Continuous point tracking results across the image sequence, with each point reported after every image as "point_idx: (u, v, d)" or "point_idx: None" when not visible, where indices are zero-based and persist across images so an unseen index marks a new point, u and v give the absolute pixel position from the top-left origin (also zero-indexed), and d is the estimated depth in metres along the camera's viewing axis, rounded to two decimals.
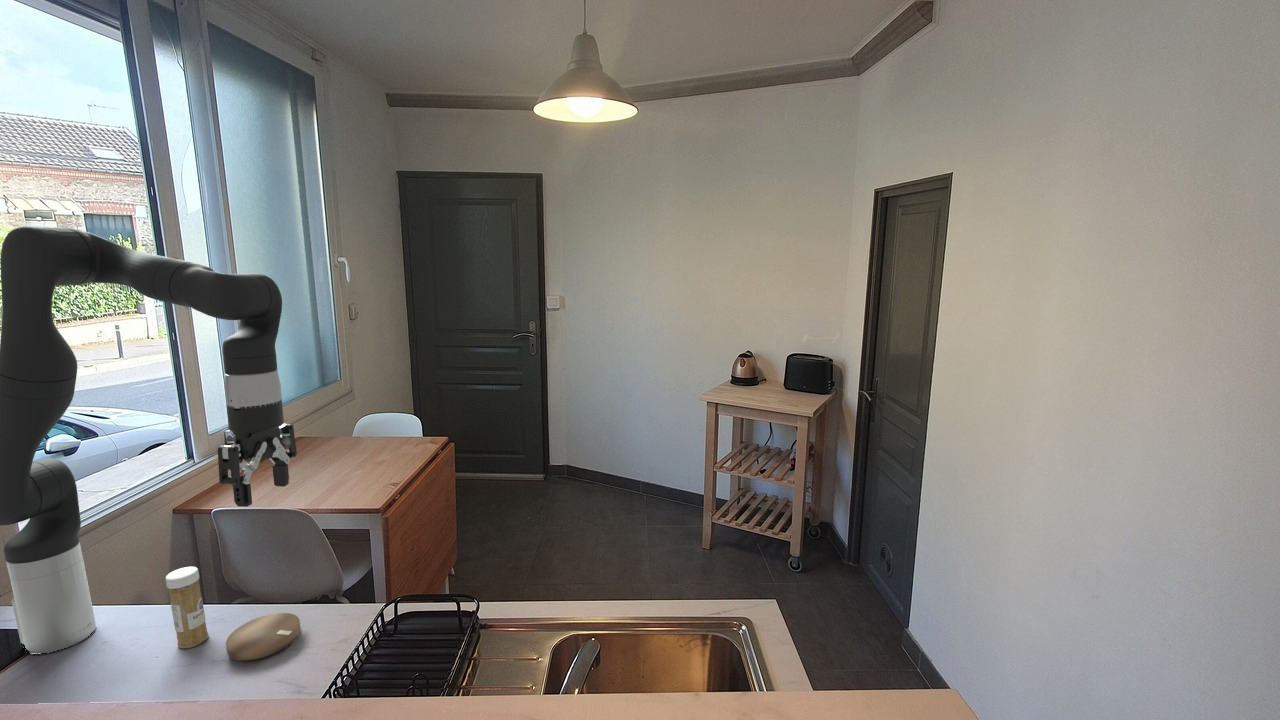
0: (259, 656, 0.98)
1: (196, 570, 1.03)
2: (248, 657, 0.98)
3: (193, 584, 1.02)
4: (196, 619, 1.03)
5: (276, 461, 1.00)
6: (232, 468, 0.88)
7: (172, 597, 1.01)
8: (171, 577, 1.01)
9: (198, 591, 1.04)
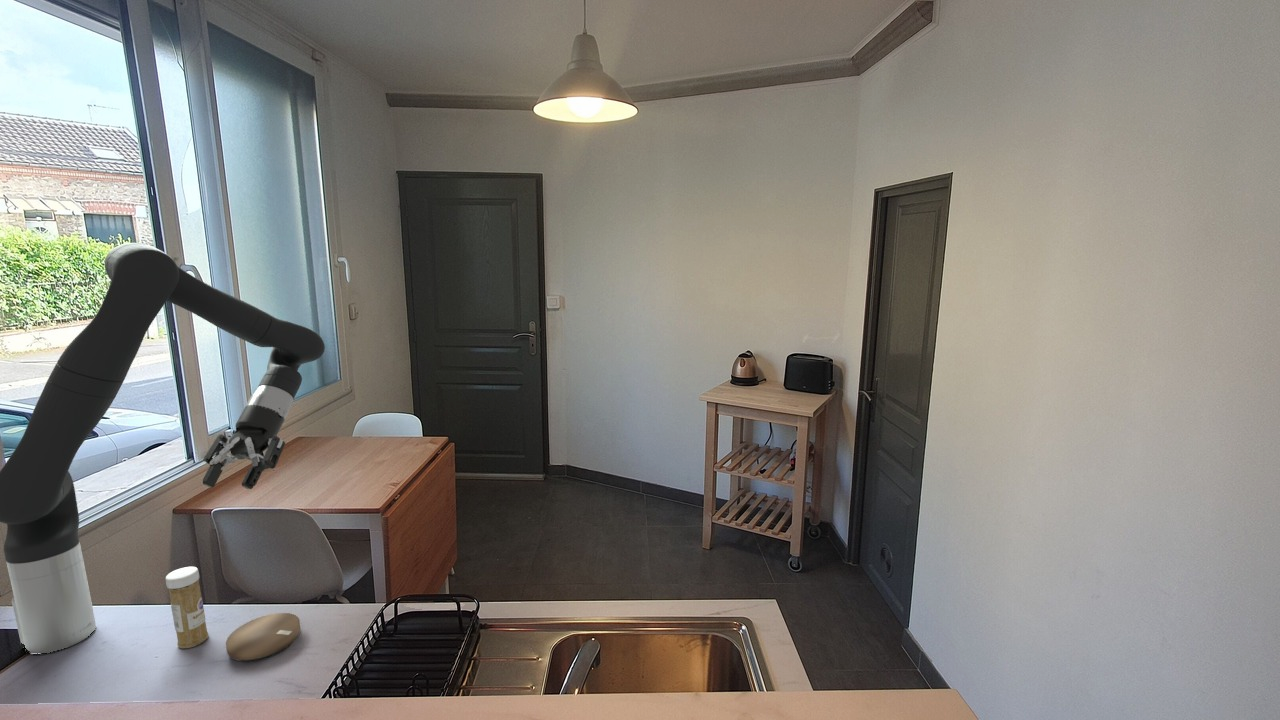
0: (259, 656, 0.98)
1: (196, 570, 1.03)
2: (248, 657, 0.98)
3: (193, 584, 1.02)
4: (196, 619, 1.03)
5: (218, 463, 1.14)
6: (279, 456, 1.15)
7: (172, 597, 1.01)
8: (171, 577, 1.01)
9: (198, 591, 1.04)
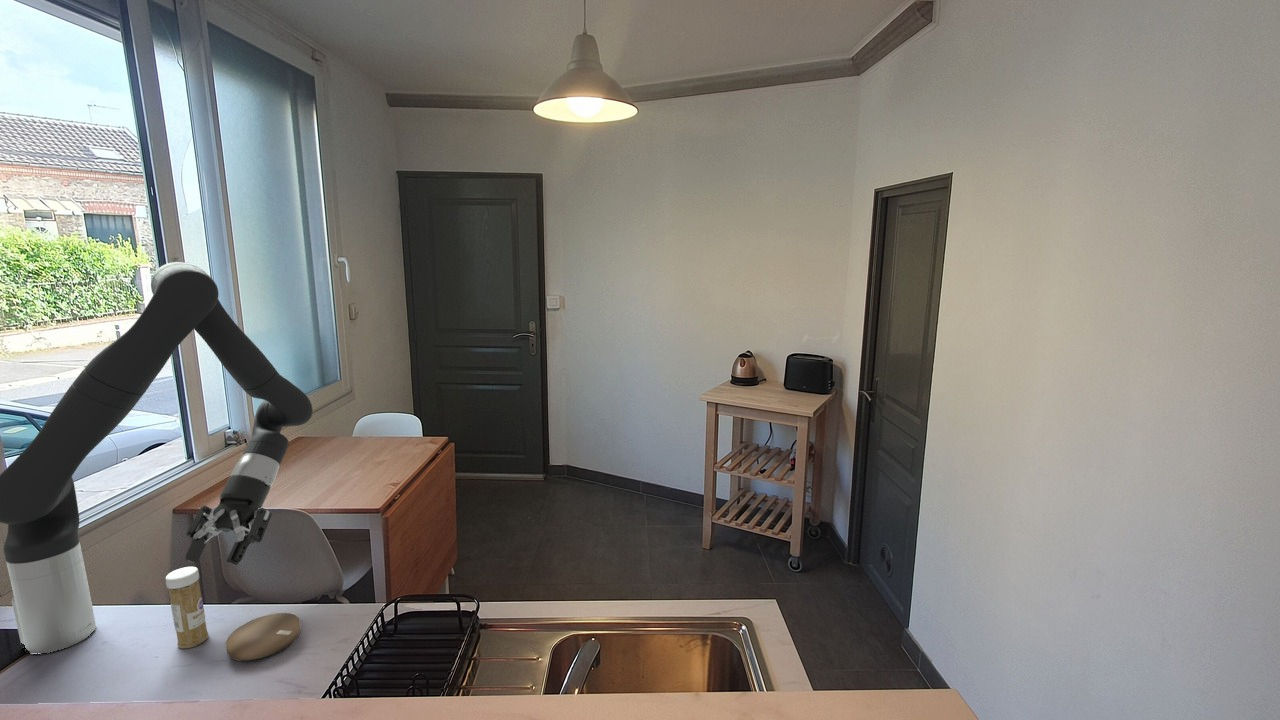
0: (259, 656, 0.98)
1: (196, 570, 1.03)
2: (248, 657, 0.98)
3: (193, 584, 1.02)
4: (196, 619, 1.03)
5: (201, 537, 1.11)
6: (265, 528, 1.12)
7: (172, 597, 1.01)
8: (171, 577, 1.01)
9: (198, 591, 1.04)
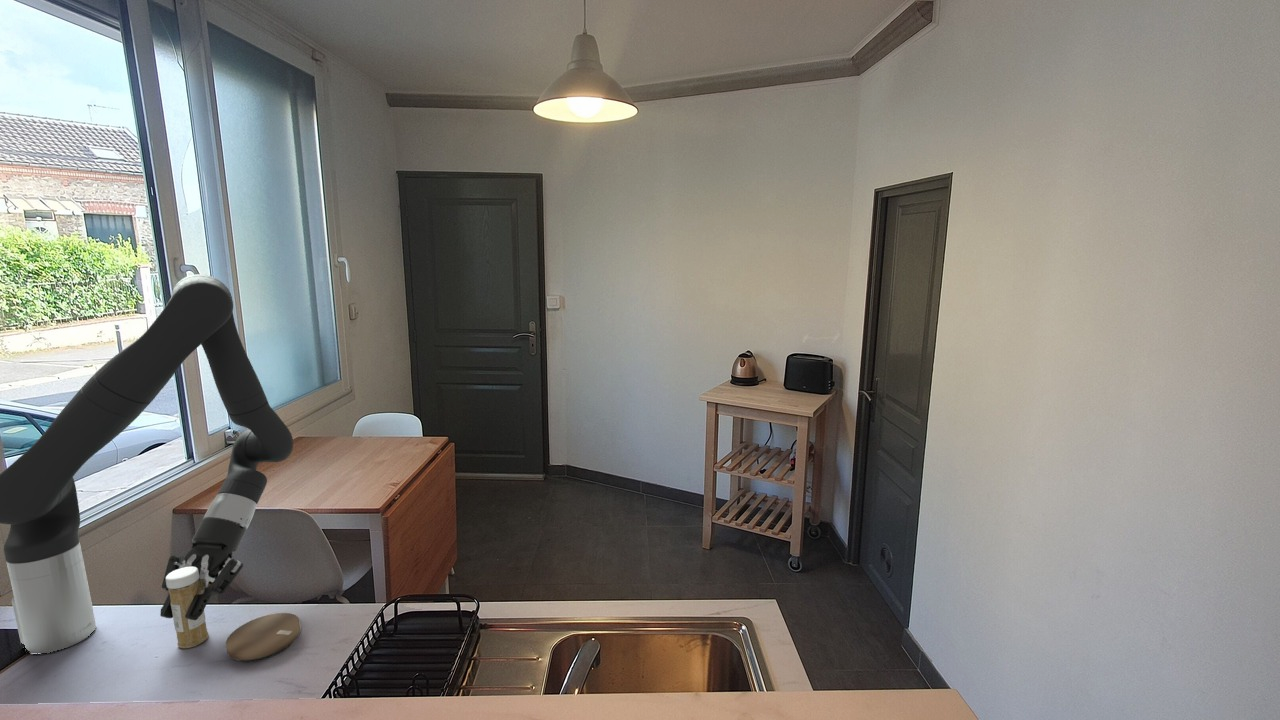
0: (259, 656, 0.98)
1: (196, 570, 1.03)
2: (248, 657, 0.98)
3: (193, 584, 1.02)
4: None
5: None
6: (231, 581, 1.06)
7: (172, 597, 1.01)
8: (171, 577, 1.01)
9: None
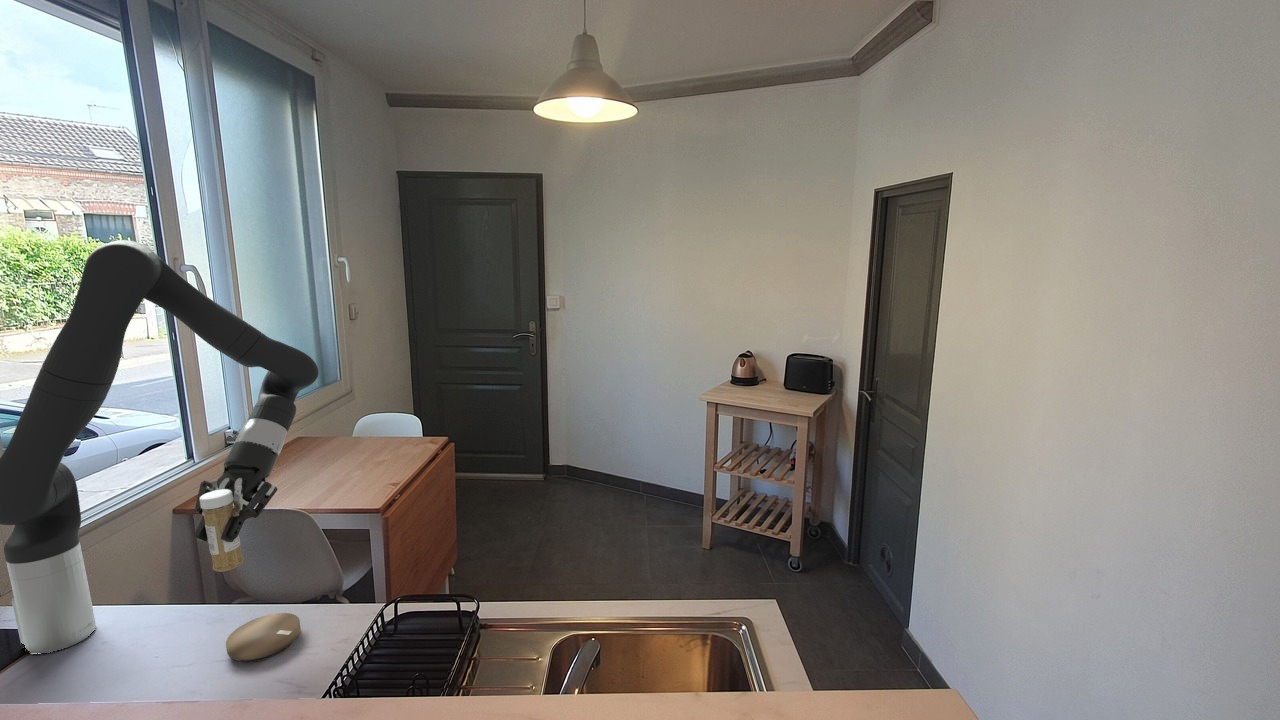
0: (259, 656, 0.98)
1: (230, 492, 1.00)
2: (248, 657, 0.98)
3: (228, 505, 1.00)
4: (232, 542, 1.00)
5: None
6: (265, 504, 1.03)
7: (207, 518, 0.98)
8: (205, 497, 0.98)
9: None
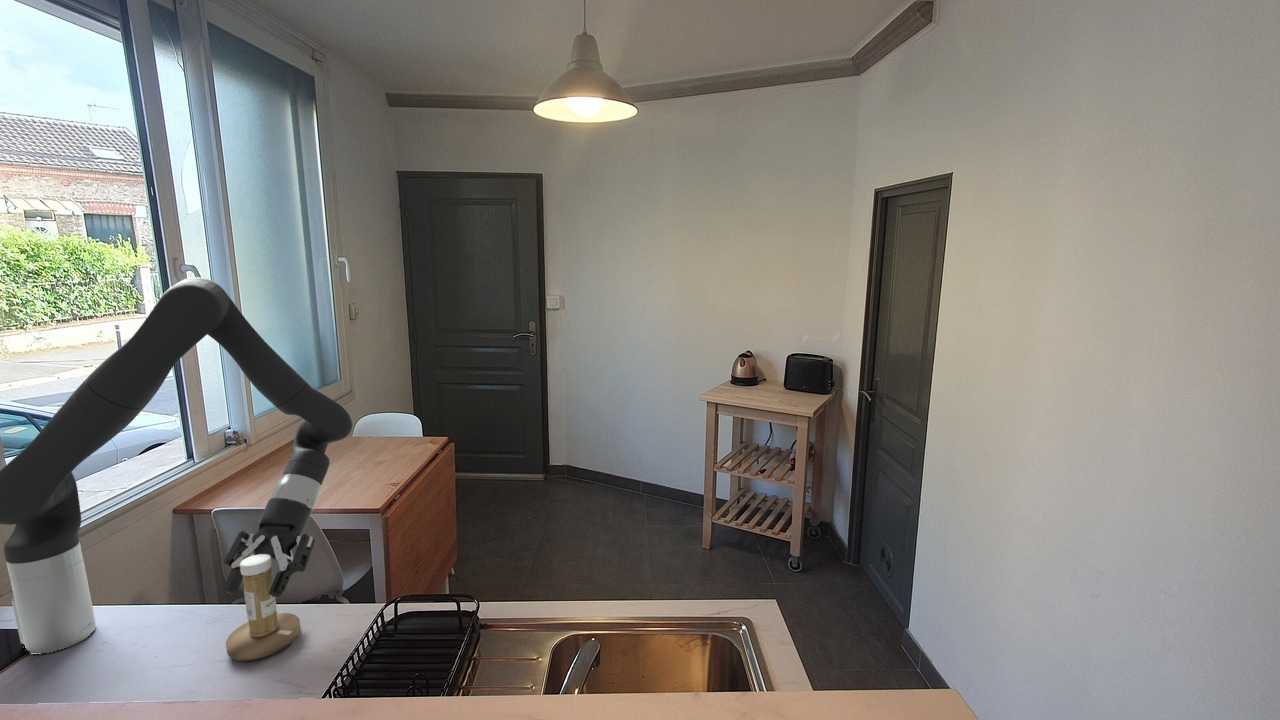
0: (259, 656, 0.98)
1: (269, 557, 1.02)
2: (248, 657, 0.98)
3: (267, 571, 1.01)
4: (269, 607, 1.01)
5: None
6: (309, 556, 1.04)
7: (246, 584, 1.00)
8: (245, 564, 0.99)
9: (271, 579, 1.02)
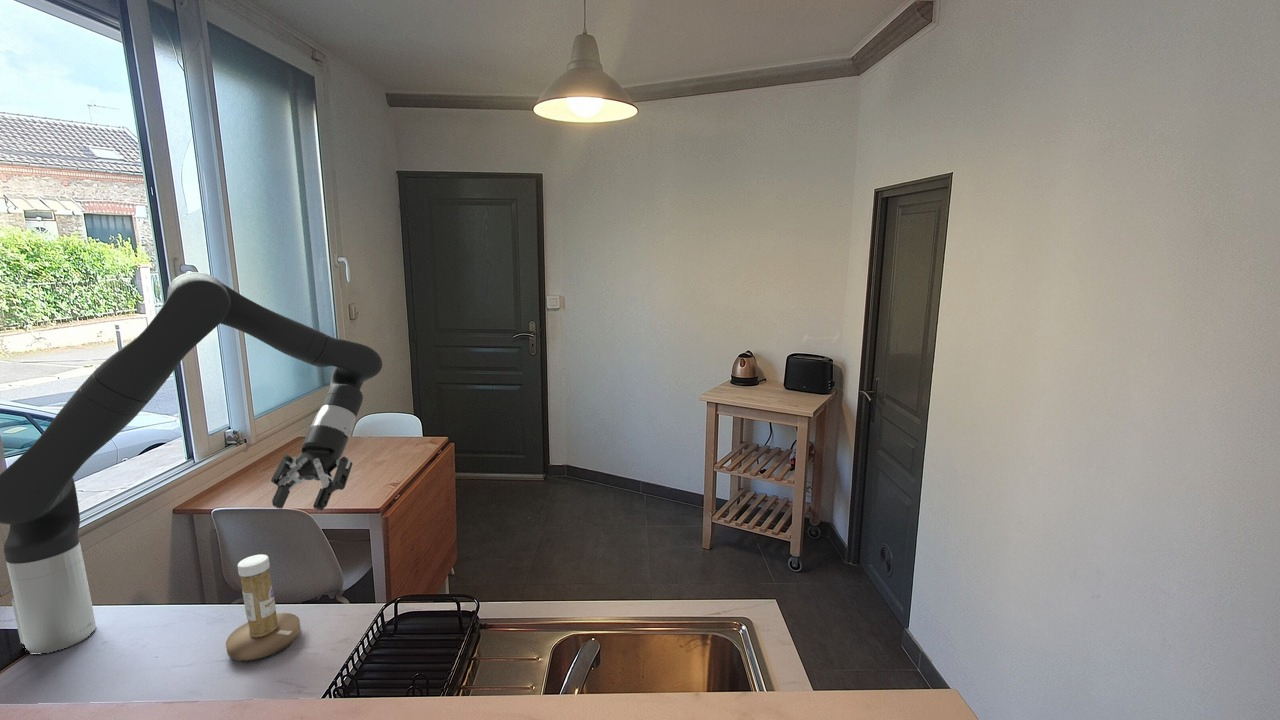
0: (259, 656, 0.98)
1: (267, 558, 1.02)
2: (248, 657, 0.98)
3: (265, 572, 1.01)
4: (268, 607, 1.01)
5: (286, 484, 1.14)
6: (347, 477, 1.15)
7: (244, 585, 0.99)
8: (243, 565, 0.99)
9: (269, 579, 1.02)
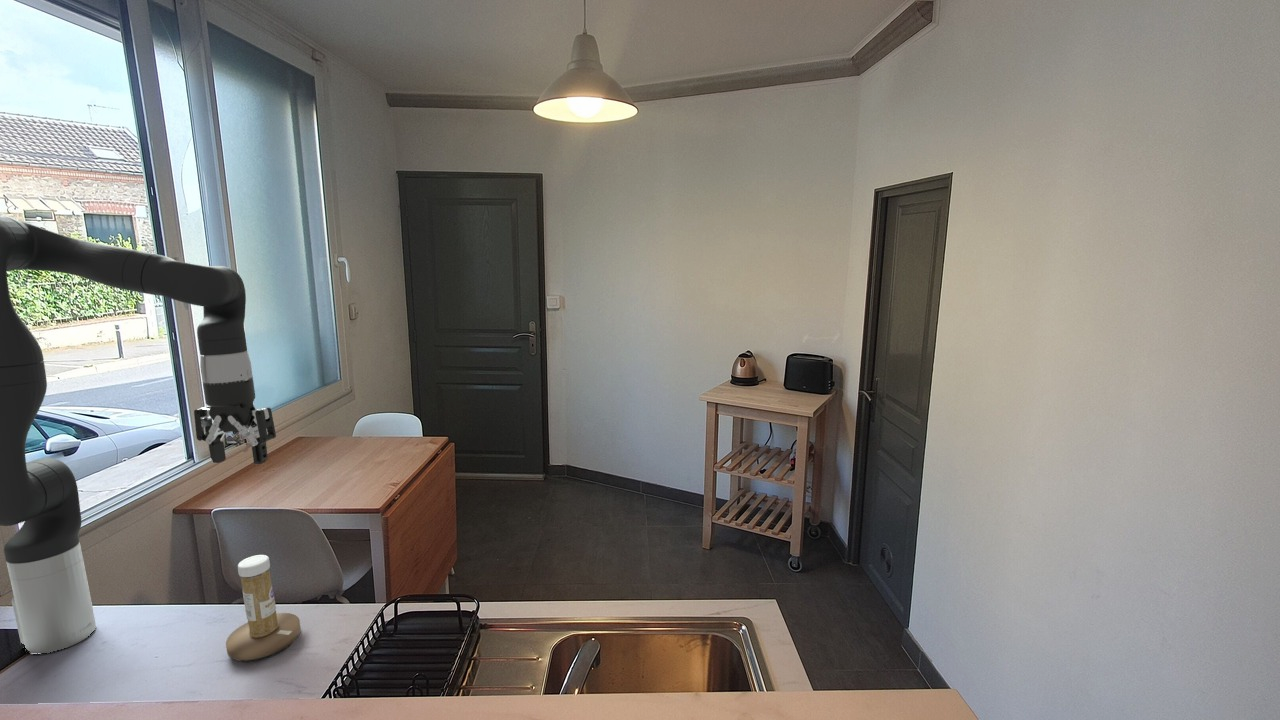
0: (259, 656, 0.98)
1: (267, 558, 1.01)
2: (248, 657, 0.98)
3: (265, 572, 1.01)
4: (268, 608, 1.01)
5: (215, 440, 1.08)
6: (273, 424, 1.08)
7: (245, 586, 0.99)
8: (243, 565, 0.99)
9: (269, 579, 1.02)
